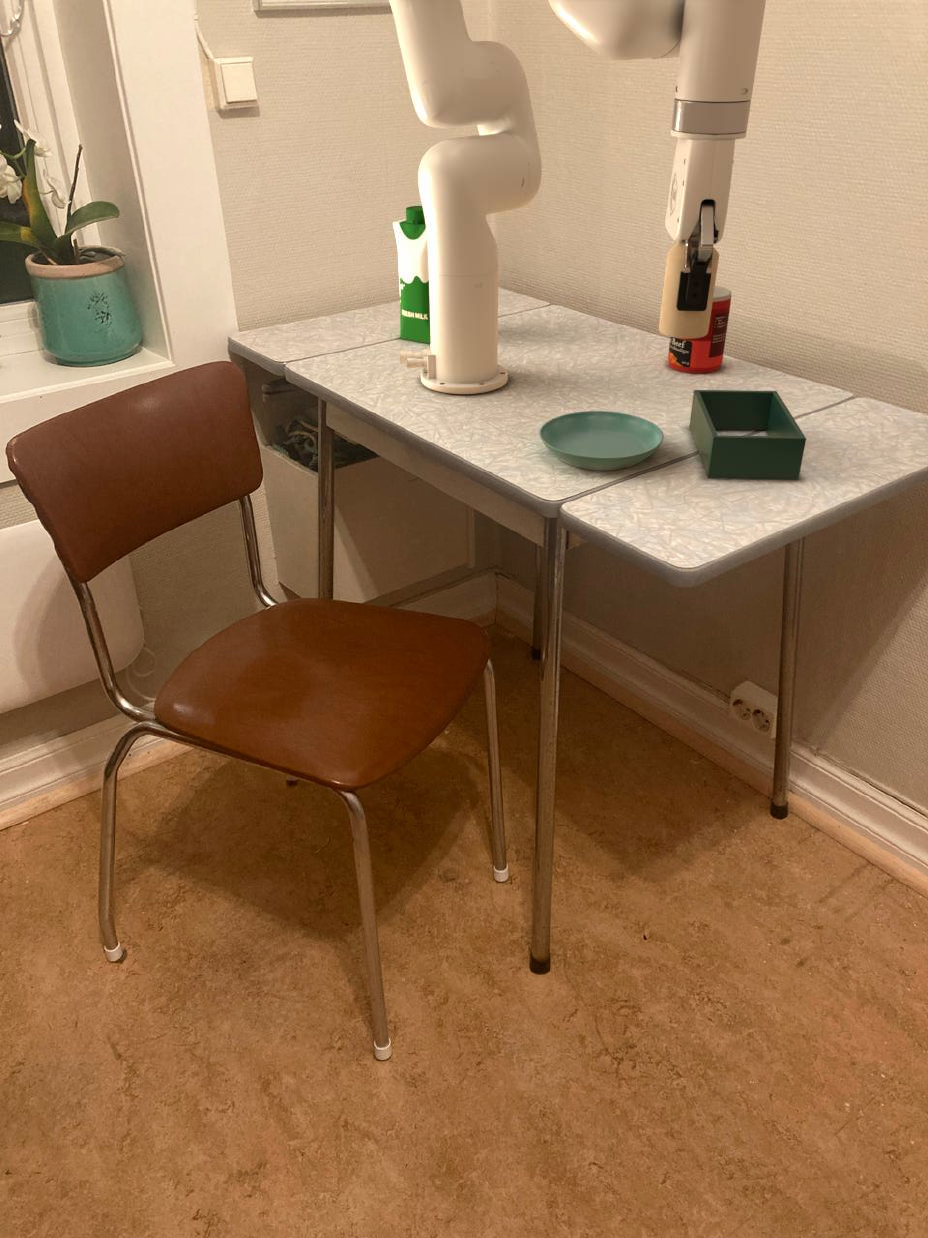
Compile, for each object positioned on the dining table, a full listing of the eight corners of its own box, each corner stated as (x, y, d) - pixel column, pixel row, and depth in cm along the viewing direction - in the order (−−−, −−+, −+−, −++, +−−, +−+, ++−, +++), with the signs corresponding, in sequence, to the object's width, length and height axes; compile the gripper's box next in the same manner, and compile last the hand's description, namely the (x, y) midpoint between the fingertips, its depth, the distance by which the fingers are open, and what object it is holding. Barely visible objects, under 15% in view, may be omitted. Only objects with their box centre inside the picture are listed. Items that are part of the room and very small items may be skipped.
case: (707, 478, 110) (713, 436, 107) (689, 427, 123) (693, 389, 120) (798, 479, 109) (806, 438, 106) (770, 428, 122) (776, 390, 120)
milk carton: (392, 339, 157) (386, 207, 146) (423, 325, 163) (420, 198, 152) (437, 347, 153) (434, 212, 142) (467, 333, 159) (466, 203, 148)
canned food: (661, 358, 147) (669, 284, 141) (712, 357, 147) (722, 283, 141) (675, 375, 140) (683, 298, 134) (728, 373, 141) (739, 296, 135)
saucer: (537, 429, 123) (537, 409, 121) (653, 430, 122) (655, 410, 121) (540, 477, 110) (540, 456, 109) (669, 478, 110) (671, 457, 108)
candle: (708, 340, 106) (722, 245, 100) (658, 337, 107) (668, 243, 101) (707, 326, 110) (720, 234, 105) (658, 323, 111) (669, 232, 106)
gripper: (661, 110, 104) (644, 282, 114) (684, 129, 90) (662, 324, 100) (731, 110, 104) (707, 283, 114) (765, 130, 90) (735, 325, 99)
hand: (686, 300), depth 107 cm, fingers closed on candle, 5 cm apart
